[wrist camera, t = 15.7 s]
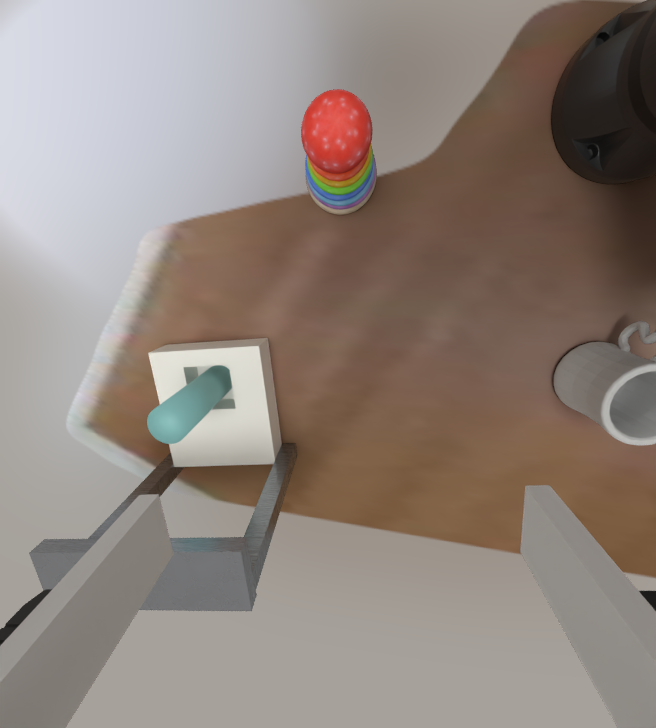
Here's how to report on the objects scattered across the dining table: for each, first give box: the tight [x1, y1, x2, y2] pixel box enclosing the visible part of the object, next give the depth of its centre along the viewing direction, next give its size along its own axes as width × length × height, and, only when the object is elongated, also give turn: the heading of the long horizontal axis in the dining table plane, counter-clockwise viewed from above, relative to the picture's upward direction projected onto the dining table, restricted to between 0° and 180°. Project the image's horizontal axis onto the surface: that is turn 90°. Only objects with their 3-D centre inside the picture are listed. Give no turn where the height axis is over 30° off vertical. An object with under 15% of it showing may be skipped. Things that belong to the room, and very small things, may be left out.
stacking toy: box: [301, 89, 377, 215], centre depth 32 cm, size 8×8×19 cm
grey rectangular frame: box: [29, 443, 297, 611], centre depth 41 cm, size 6×18×24 cm, turn 95°
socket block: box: [148, 338, 282, 467], centre depth 48 cm, size 16×14×4 cm
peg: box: [147, 365, 232, 444], centre depth 42 cm, size 4×4×14 cm
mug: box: [554, 321, 656, 445], centre depth 40 cm, size 12×9×10 cm
